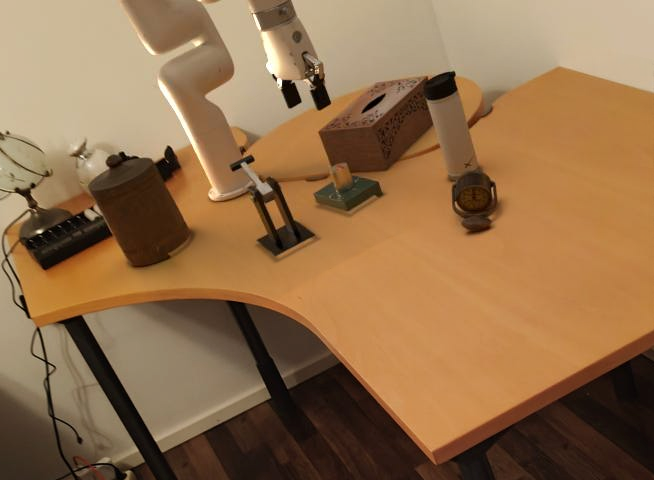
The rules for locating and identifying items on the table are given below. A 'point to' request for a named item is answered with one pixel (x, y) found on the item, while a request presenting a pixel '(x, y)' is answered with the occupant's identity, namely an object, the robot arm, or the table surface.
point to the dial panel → (348, 194)
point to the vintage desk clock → (474, 198)
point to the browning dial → (341, 177)
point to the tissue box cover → (378, 125)
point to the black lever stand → (292, 230)
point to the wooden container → (139, 210)
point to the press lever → (254, 178)
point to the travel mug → (450, 124)
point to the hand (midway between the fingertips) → (309, 106)
